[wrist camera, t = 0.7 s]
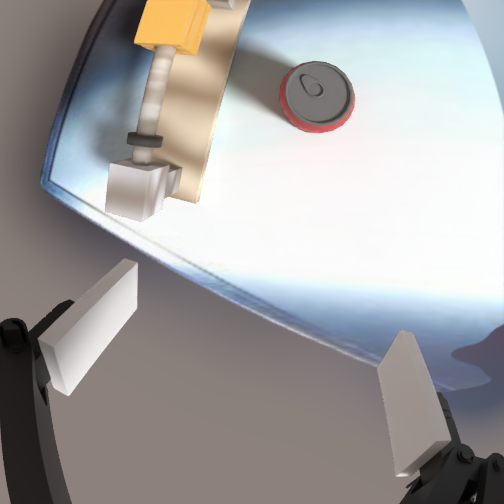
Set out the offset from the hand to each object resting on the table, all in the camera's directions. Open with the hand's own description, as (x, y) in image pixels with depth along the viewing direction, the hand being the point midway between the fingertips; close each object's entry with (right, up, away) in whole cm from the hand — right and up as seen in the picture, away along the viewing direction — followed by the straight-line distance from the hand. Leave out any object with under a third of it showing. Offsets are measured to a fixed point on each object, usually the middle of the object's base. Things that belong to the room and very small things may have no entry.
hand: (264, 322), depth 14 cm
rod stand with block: (-8, +23, +19) cm, 31 cm away
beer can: (+6, +20, +19) cm, 28 cm away
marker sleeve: (-8, +26, +11) cm, 29 cm away
